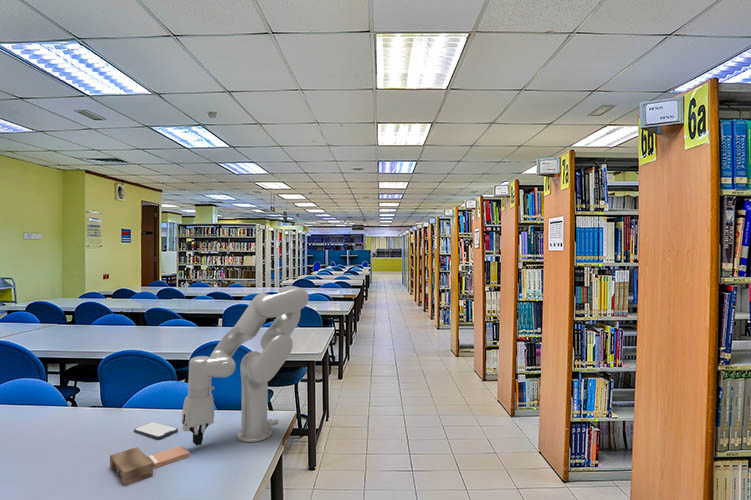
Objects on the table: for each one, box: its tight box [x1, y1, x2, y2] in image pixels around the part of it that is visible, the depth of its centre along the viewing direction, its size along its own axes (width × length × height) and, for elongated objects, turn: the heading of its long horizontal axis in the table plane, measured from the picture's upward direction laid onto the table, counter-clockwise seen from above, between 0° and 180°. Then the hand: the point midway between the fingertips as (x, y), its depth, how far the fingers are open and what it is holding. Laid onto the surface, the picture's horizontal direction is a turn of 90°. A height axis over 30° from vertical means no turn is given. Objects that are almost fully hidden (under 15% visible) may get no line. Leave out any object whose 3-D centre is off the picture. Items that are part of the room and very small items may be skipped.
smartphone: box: [133, 421, 179, 441], centre depth 162 cm, size 9×2×16 cm
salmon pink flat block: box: [147, 445, 191, 469], centre depth 141 cm, size 11×7×2 cm, turn 135°
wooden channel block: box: [109, 447, 154, 487], centre depth 133 cm, size 8×15×4 cm, turn 46°
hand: (197, 443), depth 148 cm, fingers closed
